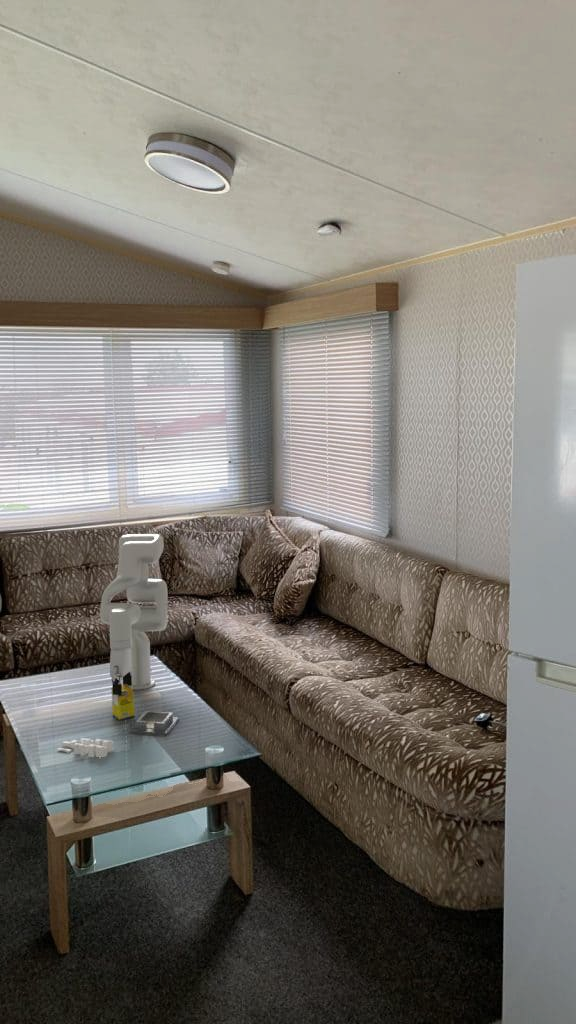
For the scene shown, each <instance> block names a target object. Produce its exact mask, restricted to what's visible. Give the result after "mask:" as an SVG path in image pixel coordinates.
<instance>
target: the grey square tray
mask: <svg viewBox="0 0 576 1024" xmlns="http://www.w3.org/2000/svg"><path fill="white" fill-rule="evenodd" d="M173 713H174V712H170V711H167V712H166V711H155V710H154V711H153V710H152V711H151V710H145V711H144V712H143V713H142V714H141V715H140V716H139V718H138V719H136V721H135V724H134V725H133V726H132V728H131V729H130V730H129V734H133V735H145V734H147V735H146V736H159V735H167V734H169V733H170V732H171V731H172V730H173V728H174V727H175V726H174V724H175V723H176V722H177V720H178V719H179V720H180V718H179V716H178V717H177V716H174V714H173ZM177 723H178V722H177ZM177 723H176V724H177ZM176 724H175V725H176ZM173 726H174V727H173ZM172 727H173V728H172ZM170 730H171V731H170ZM169 731H170V732H169ZM167 736H168V735H167Z"/></svg>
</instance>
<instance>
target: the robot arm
mask: <svg viewBox="0 0 576 1024" xmlns="http://www.w3.org/2000/svg"><path fill="white" fill-rule="evenodd" d="M164 542H165V541H164V539H163V537H162V535H160V534H158V533H157V534H154V533H153V534H152V533H144V534H143V533H142V534H141V533H139V534H138V533H137V534H136V533H134V534H133V533H132V534H131V533H130V534H124V535H122V536H121V537H119V540H118V548H119V557H118V565H117V572H116V573H117V574H116V577H115V578H114V579H113V580H112V581H111V582H110V583H109V584H108V585H107V587H106V588H105V590H104V591H103V593H102V596H101V602H100V607H99V609H100V610H99V618H100V621H101V623H103V624H107V625H109V643H110V644H109V645H110V646H109V647H110V648H109V649H110V656H109V676H110V678H111V684H112V687H113V695H121V694H122V685H124V684H127V685H128V686H130V687H131V688H132V689H133V691H140V690H146V689H150V688H152V687H154V686H155V684H156V681H155V679H154V678H152V677H151V676H152V675H151V672H152V671H153V670H152V668H151V643H150V638H149V637H148V635H147V634H146V633H145V632H161V631H162V632H163V631H164V630H166V628H167V626H168V608H169V607H168V604H169V603H168V597H169V595H168V585H167V583H166V581H165V580H164V579H160V578H149V576H150V575H149V570H150V567H149V564H157V563H158V562H159V560H160V558H161V557H162V554H163V552H164V548H165V547H164V546H165V544H164ZM123 591H126V599H127V601H129V603H128V602H125V603H124V602H111V601H112V599H113V598H114V597H115V596H116V595H118V594H119V593H121V592H123ZM138 604H154V605H155V606H139V605H138ZM112 687H111V688H112Z"/></svg>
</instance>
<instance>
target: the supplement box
mask: <svg viewBox="0 0 576 1024" xmlns="http://www.w3.org/2000/svg"><path fill="white" fill-rule="evenodd" d="M111 702H112V704H111V705H112V716H113V718H115V719H116V720H117V721H119V722H121V721H126V720H129V719H134V718H135V701H134V690H133V689H132V688H131V687H130V686H128V685H127V684H124V685H123V684H122V694H121V695H113V687H111Z"/></svg>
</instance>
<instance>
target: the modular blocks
mask: <svg viewBox="0 0 576 1024" xmlns="http://www.w3.org/2000/svg"><path fill="white" fill-rule="evenodd" d="M79 741H80V742H79V743H78V740H76V739H72V740H71V741H66V740H65V741H63V742H62V747H58V748H57V752H58V751H61V752H63V753H66V752H70V751H71V752H72V751H74V753H75V754H74V755H76V754H78V755H79V754H81V755H80V756H85V755H87V753H88V757H89V756H91V757H90V758H96V757H99V758H98V759H102V758H103V757H105V756H106V757H108V753H112V752H113V751H114V749H115V748H114V746H115V745H114V741H113V740H109V739H100V738H96V739H95V740H93V739H92V738H86V737H85V738H84V737H80V740H79ZM65 746H67V747H66V748H65ZM63 747H64V748H63ZM69 748H70V749H69ZM72 749H74V750H72ZM71 752H70V753H71ZM101 757H102V758H101ZM106 757H105V758H106Z"/></svg>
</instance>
